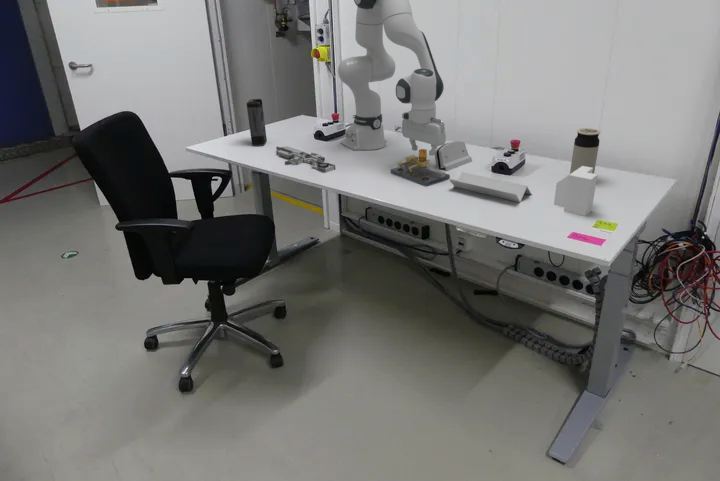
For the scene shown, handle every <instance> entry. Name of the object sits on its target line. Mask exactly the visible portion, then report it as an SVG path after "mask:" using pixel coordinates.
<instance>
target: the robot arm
mask: <svg viewBox="0 0 720 481" xmlns="http://www.w3.org/2000/svg"><path fill="white" fill-rule="evenodd" d="M353 2H354V4H355V5H356V16H355V42H356V43H357V44H358V45H359V46H360V47H361V48H363V49H365V50H366V54H365V55H359V56H351V57H347V58H345V59H343V60H340V63H339V65H338V66H337V68H338V69H337V74H338V78H339V79H340V81H341V82H342V83H343V84H345V85H346V86H347V87H348V88H349V89H350V90H351V92H352V94H353V98H354V105H355V114H354V115H352V119H353V123H352V124H351V125H350V126H349V127H348V128H347V129H346V130H345V133H344V134H345V136H344V138H342V139H341V140H340V141H339V142H340V144H342V145H343V146H344V147H347V148H349V149H350V150H353V151H361V150H362V151H371V150H378V149H381V148H384V147H385V146H386V143H387V139H385V131H384V130H385V129H384V125H383V124H382V123H383V114H382V107H381V106H382V102H381V96H380V95H379V93H377V92H376V91H374V90H372V89H371V88H370V83H374V82H382V81H386V80H388V79H390V78H392V77H393V76H394V75H395V72H396V62H395V59H394V58H393V57H392V56H391V55H390V54H389V53H388V52H387V50H386V49H385V46H384V40H383V38H384V36H383V35H384V34H383V33H384V32H385V36H386V38H387V39H388V40H389V41H390V42H392V43H393V44H396V45H397V46H401V47H404V48H406V49H409V50H411V51H412V52H413V53H414V54H415V56H416V57H417V60H418V64H419V67H420V68H417V69H414V70H413V71H412V73H411V74H410V75H408V76H404V77H401V78H399V80H398V81H397V83H396V86H395V96H396V99H398V101H399V102H400V103H402V104H411V110H409V111H406V112H402V113H401V119H402V121H401V133H402V136H403V137H404V138H406V139H409V143H410V146H411V150H412V151H415V152H416V151H419V148H418V147H419V146H418V145H417V143H416V141H418V142H421V143H424V144H425V143H426V144H428V145H429V144H430V148H431V150H428V156H433V157H435V151H436V150H437V149H438V148H439V147H440V146H442V145H444V144H446V143H447V140H446V139H447V137H446V136H447V135H446V127H445V123H444V122H443V120H442V119H439V118H437V115H436V114H437V111H436V110H437V107H436V106H437V105H436V101H438V100H439V99H440V98H441V96H442V94H443V92H444V89H445V88H444V87H445V86H444V82H443V79H442V77H441V75H440V73H439V71H438V69H437V66H436V63H435V60H434V57H433V54H432V52H431V48H430V45H429V43H428V39H427V38H426V35H425V33H424V32H423V31H421V30H420V28H419V27H418V26H417V24H416V22H415V20H414V16H413V11H412V8H411V3H410V1H409V0H353Z"/></svg>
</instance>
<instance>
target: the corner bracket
mask: <svg viewBox="0 0 720 481" xmlns="http://www.w3.org/2000/svg"><path fill="white" fill-rule="evenodd" d="M592 171H593V168H591V167H586V166H581V167H580V168H579V169H577V170H576V171H574V172H573V173H571V174H570V173H569V174H568V175H566V177H564V178H562V179H561V180H559V181H558V182H556V184H555V192H554V193H555V194H554V200H553V205H554V206H558V207H563V212H565V213H566V212H567V213H569V214H574V215H577V216H583V217H586V216H587V215H588V214H589V213H591V212H592V211H593V210H592V209H593V203H594V199H595V192H596V187H597V181H598V176H599V175H598V173H597V174H596V173H594V174H592Z"/></svg>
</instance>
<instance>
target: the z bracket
mask: <svg viewBox="0 0 720 481" xmlns="http://www.w3.org/2000/svg"><path fill="white" fill-rule="evenodd" d="M448 180H449V182H450V183H451V184H452V186H453V187H454V188H458V189H463V190H467V191H471V192H475V193H479V194H483V195H488V196H492V197H496V198H499V199H505V200H509V201H513V202H518V203H521V201H522V199H523V198H524V196H525V194H526V195H530V196H531V195H532V192H531V191H530V189H529V187H528V185H525V184H520V183H515V182H511V181H507V180H501V179H498V178H497V179H496V178H492V177H488V176H483V175H478V174H473V173H470V172H465V171H461V173H460V175H459V177H458V179H455V178H451V177H450V178H449V179H448Z"/></svg>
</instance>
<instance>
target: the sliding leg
mask: <svg viewBox="0 0 720 481" xmlns="http://www.w3.org/2000/svg"><path fill="white" fill-rule="evenodd" d="M427 152H428V149H426V148H425V149H424V148H421V149H418V160H417V161H416V165H413V166H410V167H408V169H410V173H412V170H413V169H416V168H419V167H421V168H422V167H425V166H427V167H429V166H430V160H429V159H427V158H428V156H427V154H428V153H427Z"/></svg>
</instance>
